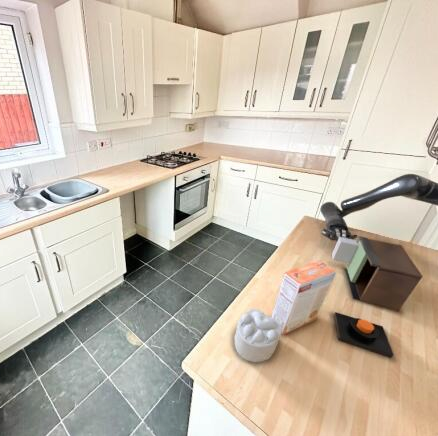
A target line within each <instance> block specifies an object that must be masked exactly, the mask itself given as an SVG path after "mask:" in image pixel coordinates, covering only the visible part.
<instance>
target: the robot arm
mask: <svg viewBox="0 0 438 436" xmlns="http://www.w3.org/2000/svg"><path fill="white" fill-rule="evenodd" d="M396 197H403V198H406V199H409V200H414V201H419V202H423V203H427V204H431V205H434V206H437V207H438V182H436V181H433V180H431V179H429V178H427V177H424V176H422V175H419V174H416V173H405V174H402V175H400V176H398V177H395V178H393V179H392V180H389V181H388V182H386V183H383V184H381V185H379V186H377V187H376V188H372V189H371V190H369V191H366V192H363V193H360V194H357V195H355V196H352V197H349V198H346V199H343V200H342V201H341V202H340V208H339V206H338V204H336V203H335V202H333V201H326V202H324V203H323V204H321V206H320V209H319V210H320V213H321V214H322V216H323V217H324V220H325V228H323V229H322V232H321V235H322V236H324V237H325V238H327V239H329V240H330V241H333V242H334V241H335V242H336V243H337V241H338V239H339V237H342V238H347V239H352V240H356V241H357V238H358V235H357V234H351V232H350V231H349V227H348V224H347V221H346V220H345V219H344V217H345V218H346V216H348V215H351V214H353V213H357V212H359V211H364V210H366V209H369V208H371V207H372V206H374V205H376V204H377V203H379V202H382V201H384V200H387V199H391V198H396Z"/></svg>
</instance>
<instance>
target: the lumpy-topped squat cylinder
mask: <svg viewBox="0 0 438 436" xmlns="http://www.w3.org/2000/svg"><path fill="white" fill-rule="evenodd" d="M282 334H283V333H282V327H281V325H280V323H279V322H278V321H277V320H275V319H273V318H271V316H269V315H267V314H266V313H265V312H264V311H262V310H261V309H258V308H251V309H249V310H247V311H246V312H245V313H244V314H242V316H241V317H240V318H239V320H238V322H237V326H236V330H235V334H234V347H235V349H236V352H237V353H238V355H239V356H240V357H241V358H242V359H244V360H246V361H248V362H252V363H261V362H265V361H267V360H269V359H270V358H271V357H272V356H273V355H274V352H275V351H276V348H277V346H278V343H279V341H280V339H281V336H282Z"/></svg>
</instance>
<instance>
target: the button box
mask: <svg viewBox="0 0 438 436" xmlns="http://www.w3.org/2000/svg"><path fill="white" fill-rule="evenodd" d="M361 319H362V318H358V317H353V316H349V315H346V314H343V313H340V312H336V311H335V312H334V314H333V320H334V325H335V330H336V331H335V332H336V335H337V340H338V341H339V342H342V343H345V344H348V345H351V346H354V347H357V348H360V349H363V350H366V351H368V352H372V353H373V354H374V353H375V354H377V355H381V356H383V357H387V358H389V359H392V358H393V356H394V353H393V349H392V347H391V345H390V342H389V338H388V335H387V334H386V330H385V329H384V326H382V325H380V324H376V323H372V322H370V323H371V324H372V325H373V326H374V330H373V331H372V333H370V334H367V333H364V332H362V331H361V330H359V329H358V328H357V326H356V324H357V322H358V321H359V320H361ZM362 320H364V319H362Z"/></svg>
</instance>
